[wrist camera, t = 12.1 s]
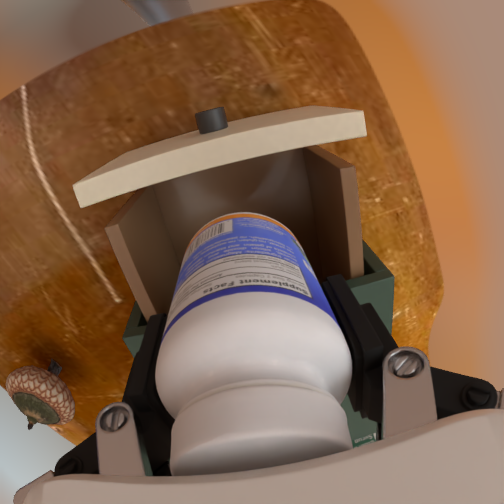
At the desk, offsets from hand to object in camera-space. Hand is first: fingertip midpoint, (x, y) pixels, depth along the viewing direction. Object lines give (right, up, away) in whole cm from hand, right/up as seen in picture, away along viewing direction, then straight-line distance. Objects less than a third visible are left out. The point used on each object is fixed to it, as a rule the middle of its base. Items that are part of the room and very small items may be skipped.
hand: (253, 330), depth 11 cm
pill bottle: (0, +2, +3) cm, 4 cm away
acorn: (-23, -10, +19) cm, 31 cm away
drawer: (-1, +5, +12) cm, 13 cm away
